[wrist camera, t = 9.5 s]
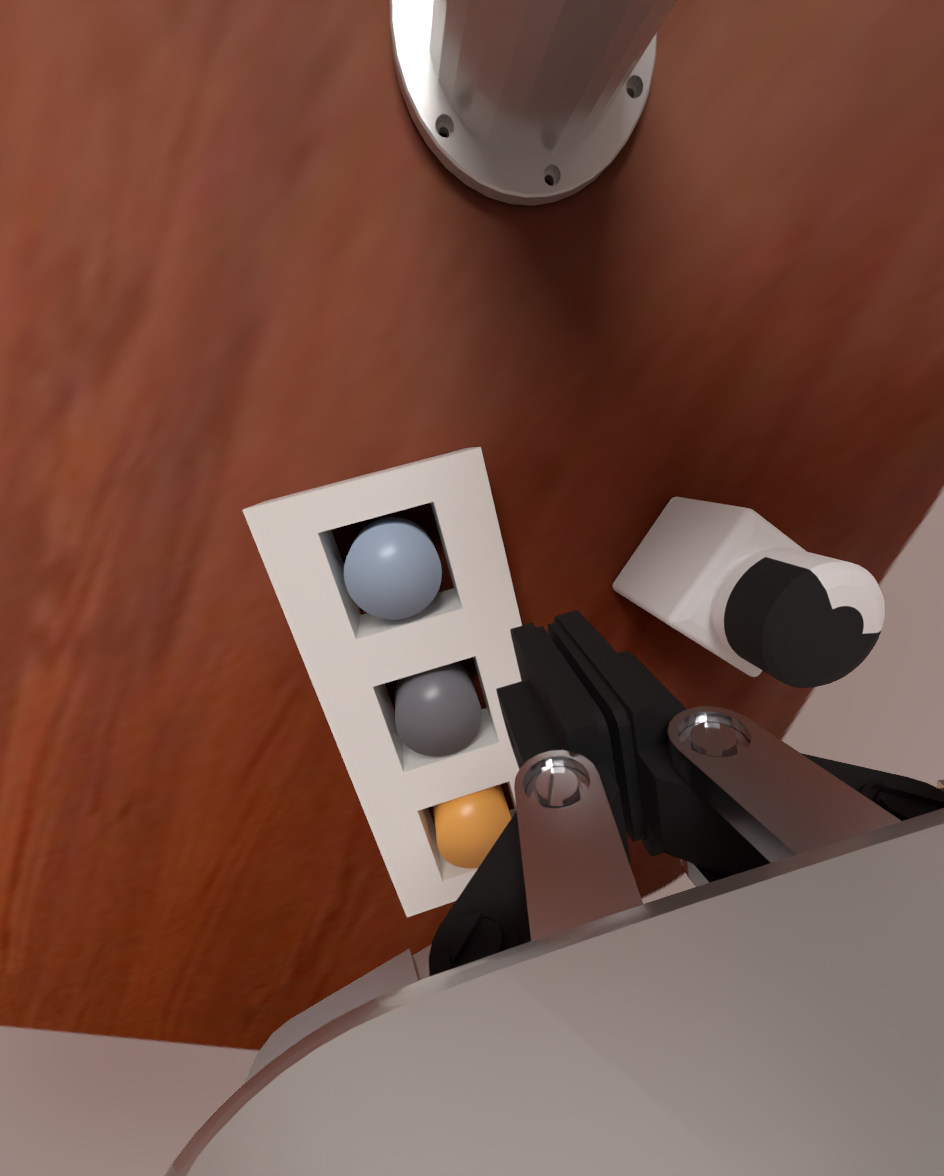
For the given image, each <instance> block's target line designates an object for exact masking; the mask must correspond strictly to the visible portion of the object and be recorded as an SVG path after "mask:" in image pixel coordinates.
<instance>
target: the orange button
mask: <svg viewBox="0 0 944 1176" xmlns="http://www.w3.org/2000/svg"><path fill="white" fill-rule="evenodd" d="M433 810H434V819H435V828H436V838H437V846H438V850H439V852H440V854H441V855H442V857H443V858H444V859H445V860H446V861H447V862H449V863H450V864H452V865H454V866H457V867H461V868H479V866H480V865H481V863H482V862H483V860H484V859H485V857H486V856H487V854H488V853H489V851H490V850H491V848H492V847H493V845H494V844H495V842H496V841H497V839H498V838H499V836H500V835H501V833H502V832H503V830H504V829H505V827H506V826H507V824H508V823H509V821H510V820H511V815H510V812H509V809H508V806H507V802H506V799H505V796H504V793H503V790H502V787H501V784H499V785H496V786H493V787H490V788H487V789H484V790H481V791H478V792H474V793H471V794H468V795H465V796H462V797H459V798H456V799H453V800H450V801H447V802H443V803H440V804H437V805H434V806H433Z"/></svg>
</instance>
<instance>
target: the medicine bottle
mask: <svg viewBox="0 0 944 1176" xmlns="http://www.w3.org/2000/svg"><path fill="white" fill-rule="evenodd" d="M612 587H613V589H614V590H615V591H616V592H617V593H619V594H621V595H622V596H624V597H625V598H627V599H628V600H630V601H632V602H633V603H635V604H636V605H638V606H639V607H641V608H643V609H644V610H646V611H647V612H649V613H650V614H652V615H654V616H655V617H657V618H658V619H660V620H661V621H663V622H665V623H666V624H668V625H669V626H671V627H672V628H674V629H676V630H677V631H679V632H680V633H682V634H684V635H685V636H687V637H688V638H690V639H692V640H693V641H695V642H696V643H698V644H700V645H701V646H703V647H704V648H706V649H707V650H709V651H711V652H712V653H714V654H715V655H717V656H719V657H720V658H722V659H723V660H725V661H727V662H728V663H730V664H731V665H733V666H735V667H736V668H738V669H739V670H741V671H742V672H744V673H746V674H747V675H749V676H752V677H756V676H758V675H759V674H760V673H761V672H762V671H764V672H766V673H768V674H769V675H771V676H773V677H774V678H776V679H778V680H779V681H781V682H783V683H784V684H787V685H790V686H793V687H799V688H809V687H816V686H821V685H825V684H829V683H832V682H834V681H837V680H839V679H840V678H842V677H844V676H846V675H847V674H848V673H850V672H851V671H853V670H854V669H855V668H856V667H857V666H859V665H860V664H861V663H862V662H863V660H864V659H865V658H866V657H867V656H868V654H869V653H870V651H871V650H872V649H873V647H874V646H875V644H876V642H877V640H878V638H879V635H880V633H881V630H882V626H883V623H884V615H885V605H884V598H883V595H882V592H881V590H880V587H879V585H878V583H877V582H876V580H875V578H874V577H873V576H872V575H871V574H870V573H869V572H868V571H867V570H866V569H864V568H863V567H861V566H859V565H856V564H854V563H850V562H846V561H842V560H838V559H834V558H830V557H826V556H822V555H818V554H814V553H810V552H806V551H805V550H804V549H803V548H801V547H800V546H799V545H797V544H796V543H795V542H794V541H792V540H791V539H790V538H788V537H787V536H786V535H785V534H783V533H782V532H781V531H779V530H778V529H777V528H776V527H774V526H773V525H772V524H770V523H769V522H768V521H767V520H765V519H764V518H763V517H761V516H760V515H759V514H758V513H756V512H755V511H754V510H752V509H749V508H744V507H738V506H732V505H725V504H719V503H713V502H707V501H701V500H695V499H688V498H682V497H673V498H672V499H670V501H669V502H668V504H667V505H666V507H665V508H664V510H663V511H662V513H661V514H660V515H659V517H658V518H657V520H656V521H655V523H654V524H653V526H652V527H651V529H650V530H649V531H648V533H647V534H646V536H645V537H644V539H643V540H642V542H641V543H640V545H639V546H638V548H637V549H636V550H635V552H634V553H633V555H632V556H631V558H630V559H629V561H628V562H627V564H626V565H625V566H624V568H623V569H622V571H621V572H620V574H619V575H618V577H617V578H616V580H615V581H614V582H613V585H612Z"/></svg>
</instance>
